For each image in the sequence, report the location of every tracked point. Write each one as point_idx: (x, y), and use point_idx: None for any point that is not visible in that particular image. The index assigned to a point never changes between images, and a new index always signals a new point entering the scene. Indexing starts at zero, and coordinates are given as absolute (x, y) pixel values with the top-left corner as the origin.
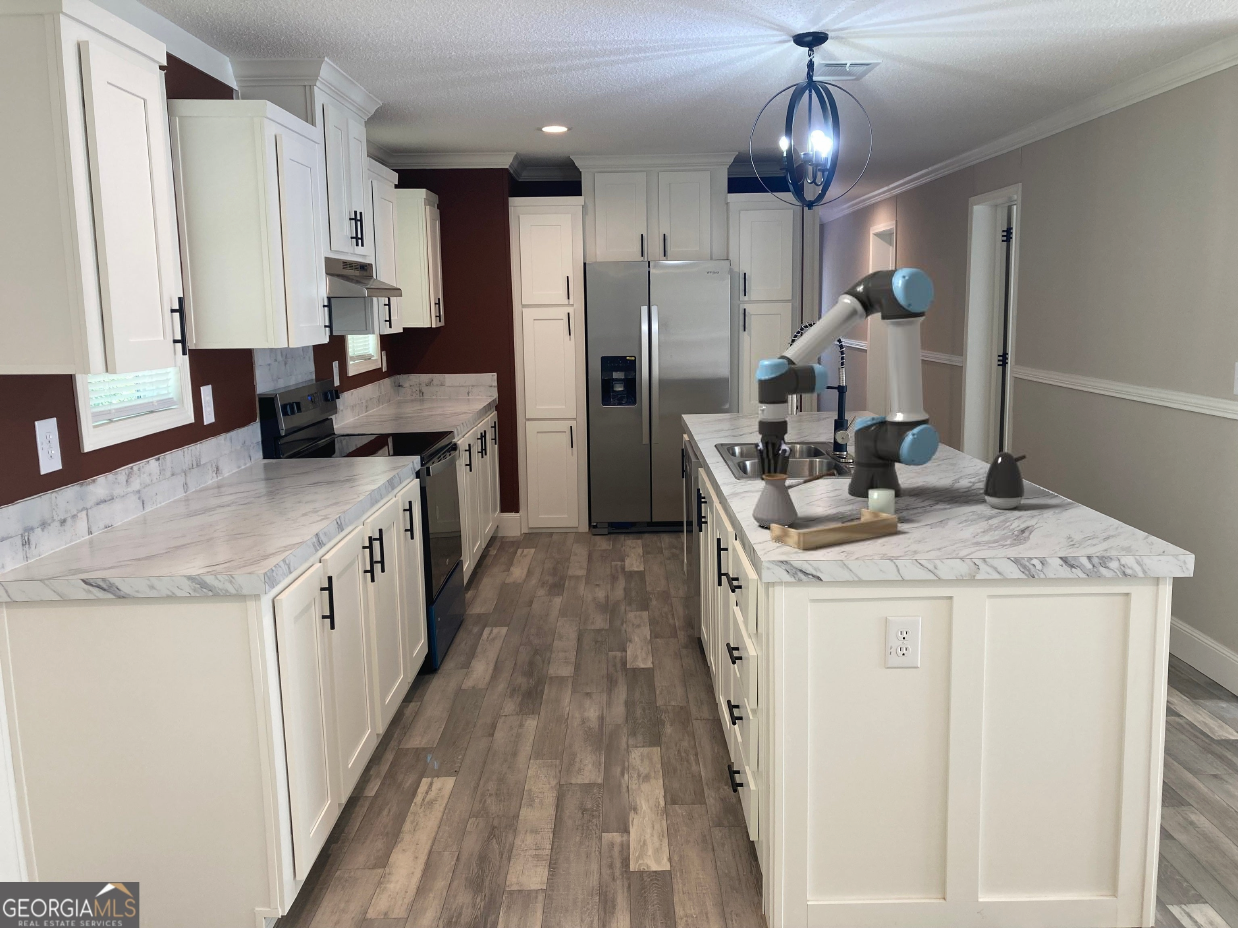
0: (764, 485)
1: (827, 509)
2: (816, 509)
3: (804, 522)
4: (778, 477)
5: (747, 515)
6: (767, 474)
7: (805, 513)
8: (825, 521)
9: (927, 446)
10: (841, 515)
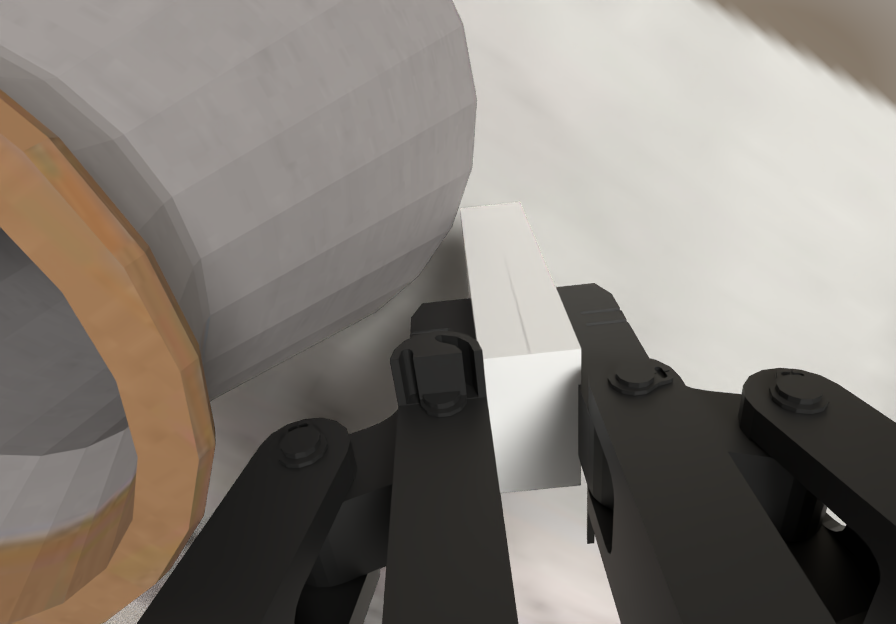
0: (31, 25)
1: (554, 620)
2: (593, 584)
3: (282, 367)
4: (100, 505)
5: (780, 108)
6: (88, 325)
7: (537, 496)
8: None
9: None
10: (374, 607)
